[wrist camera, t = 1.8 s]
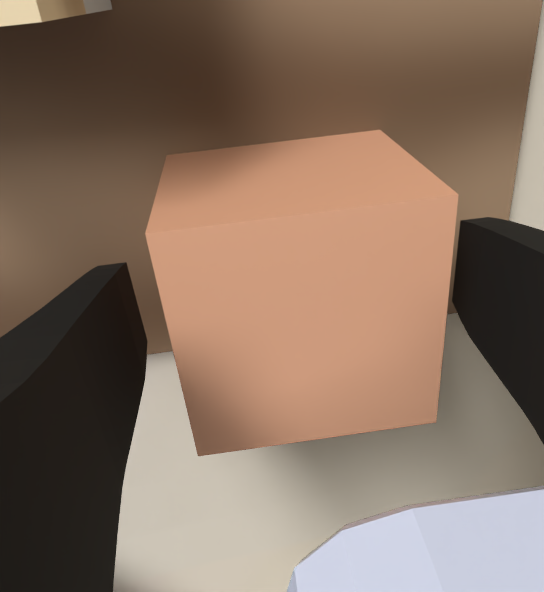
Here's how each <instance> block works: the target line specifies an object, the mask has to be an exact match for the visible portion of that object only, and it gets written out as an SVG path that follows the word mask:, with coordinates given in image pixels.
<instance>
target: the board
mask: <svg viewBox="0 0 544 592" xmlns="http://www.w3.org/2000/svg"><path fill="white" fill-rule="evenodd" d="M110 1H111V5H112V9H111V10H106V11H100V12H95V13H89V14H84V15H78V16H73V17H67V18H62V19H56V20H51V21H45V22H38V23H29V24H20V25H11V26H2V27H0V337H2V336H3V335H5V334H6V333H8V332H9V331H10V330H12V329H13V328H15V327H16V326H17V325H19V324H20V323H22V322H23V321H24V320H26V319H27V318H28V317H30V316H31V315H33V314H34V313H35V312H37V311H38V310H40V309H41V308H42V307H43V306H45V305H46V304H47V303H48V302H50V301H51V300H52V299H54V298H55V297H56V296H57V295H59V294H60V293H61V292H62V291H64V290H65V289H66V288H68V287H69V286H70V285H71V284H73V283H74V282H75V281H76V280H78V279H79V278H80V277H82V276H83V275H84V274H86V273H87V272H88V271H90V270H91V269H93V268H95V267H96V266H100V265H108V264H116V263H124V262H127V266H128V270H129V274H130V277H131V281H132V285H133V289H134V292H135V296H136V300H137V304H138V307H139V311H140V315H141V319H142V322H143V326H144V330H145V333H146V337H147V354H154V353H161V352H169V351H173V349H172V345H171V340H170V336H169V332H168V328H167V324H166V319H165V315H164V311H163V307H162V303H161V298H160V294H159V290H158V286H157V282H156V277H155V273H154V269H153V265H152V261H151V256H150V252H149V248H148V244H147V240H146V235H145V232H146V229H147V225H148V221H149V218H150V214H151V211H152V207H153V203H154V200H155V196H156V192H157V189H158V185H159V182H160V178H161V174H162V171H163V167H164V163H165V160H166V156H167V155H172V154H180V153H189V152H197V151H206V150H214V149H222V148H231V147H239V146H248V145H256V144H264V143H273V142H281V141H289V140H298V139H306V138H315V137H323V136H331V135H340V134H348V133H357V132H365V131H373V130H381V131H382V132H383V133H385V134H386V135H387V136H388V137H389V138H391V139H392V140H393V141H394V142H396V143H397V144H398V145H399V146H400V147H402V148H403V149H404V150H405V151H406V152H408V153H409V154H410V155H411V156H413V157H414V158H415V159H416V160H417V161H419V162H420V163H421V164H422V165H423V166H425V167H426V168H427V169H428V170H430V171H431V172H432V173H433V174H434V175H436V176H437V177H438V178H439V179H440V180H442V181H443V182H444V183H445V184H446V185H448V186H449V187H450V188H451V189H453V190H454V191H455V192H456V193H457V194H459V196H458V206H457V216H456V226H455V236H454V247H453V257H452V267H451V277H450V287H449V297H448V307H447V314H452V313H457V311H456V309H455V306H454V304H453V302H452V296H453V287H454V277H455V267H456V258H457V248H458V239H459V229H460V220H468V219H476V218H484V217H492V218H499V219H503V220H508V221H509V214H510V208H511V201H512V195H513V188H514V182H515V175H516V169H517V163H518V156H519V150H520V143H521V137H522V130H523V124H524V117H525V111H526V104H527V98H528V92H529V85H530V79H531V72H532V66H533V59H534V53H535V46H536V40H537V33H538V27H539V21H540V14H541V8H542V1H543V0H110Z"/></svg>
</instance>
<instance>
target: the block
mask: <svg viewBox="0 0 544 592" xmlns="http://www.w3.org/2000/svg"><path fill="white" fill-rule="evenodd" d="M458 196H459V194H457V193H456V192H455V191H454V190H453V189H451V188H450V187H449V186H448V185H446V184H445V183H444V182H443V181H442V180H440V179H439V178H438V177H437V176H436V175H434V174H433V173H432V172H431V171H430V170H428V169H427V168H426V167H425V166H423V165H422V164H421V163H420V162H419V161H417V160H416V159H415V158H414V157H413V156H411V155H410V154H409V153H408V152H406V151H405V150H404V149H403V148H402V147H400V146H399V145H398V144H397V143H396V142H394V141H393V140H392V139H391V138H389V137H388V136H387V135H386V134H385V133H383V132H382V131H381V130H373V131H365V132H357V133H348V134H340V135H331V136H323V137H315V138H306V139H298V140H289V141H281V142H273V143H264V144H256V145H248V146H239V147H231V148H222V149H214V150H206V151H197V152H189V153H180V154H172V155H167V156H166V160H165V163H164V167H163V171H162V174H161V178H160V182H159V185H158V189H157V192H156V196H155V200H154V203H153V207H152V211H151V214H150V218H149V221H148V225H147V229H146V232H145V235H146V240H147V244H148V248H149V252H150V256H151V261H152V265H153V269H154V273H155V277H156V282H157V286H158V290H159V294H160V298H161V303H162V307H163V311H164V315H165V319H166V324H167V328H168V332H169V336H170V340H171V345H172V349H173V353H174V357H175V361H176V366H177V370H178V374H179V378H180V382H181V387H182V391H183V395H184V399H185V403H186V408H187V412H188V416H189V420H190V424H191V429H192V433H193V437H194V441H195V445H196V450H197V454H198V456H203V455H210V454H217V453H225V452H232V451H239V450H246V449H253V448H260V447H267V446H274V445H281V444H288V443H295V442H302V441H309V440H316V439H323V438H330V437H337V436H344V435H351V434H358V433H365V432H372V431H379V430H386V429H393V428H400V427H407V426H414V425H422V424H429V423H436V419H437V409H438V399H439V388H440V378H441V368H442V358H443V348H444V338H445V328H446V317H447V307H448V297H449V287H450V277H451V267H452V257H453V247H454V236H455V226H456V216H457V206H458Z"/></svg>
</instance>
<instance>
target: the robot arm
mask: <svg viewBox="0 0 544 592" xmlns="http://www.w3.org/2000/svg"><path fill="white" fill-rule="evenodd" d="M452 302H453V304H454V306H455V309H456V311H457V313H458V315H459V317H460V319H461V321H462V323H463V325H464V327H465V329H466V331H467V333H468V335H469V336H470V338H471V339H472V341H473V342H474V344H475V345H476V346H477V348H478V349H479V351H480V352H481V354H482V355H483V356H484V358H485V359H486V361H487V362H488V363H489V365H490V366H491V368H492V369H493V370H494V372H495V373H496V374H497V376H498V377H499V379H500V380H501V381H502V383H503V384H504V385H505V387H506V388H507V390H508V391H509V392H510V394H511V395H512V396H513V398H514V399H515V401H516V402H517V403H518V405H519V406H520V407H521V409H522V410H523V412H524V413H525V415H526V416H527V418H528V419H529V421H530V422H531V424H532V425H533V427H534V428H535V430H536V432H537V434H538V435H539V437H540V439H541V441H542V443H543V444H544V231H542V230H539V229H536V228H532V227H529V226H526V225H522V224H519V223H515V222H511V221H508V220H503V219H499V218H492V217H484V218H476V219H468V220H460V229H459V239H458V248H457V258H456V267H455V277H454V287H453V296H452ZM146 359H147V337H146V333H145V330H144V326H143V322H142V319H141V315H140V311H139V307H138V304H137V300H136V296H135V292H134V289H133V285H132V281H131V277H130V274H129V270H128V266H127V262H124V263H116V264H108V265H100V266H96V267H95V268H93V269H91V270H90V271H88V272H87V273H86V274H84V275H83V276H82V277H80V278H79V279H78V280H76V281H75V282H74V283H73V284H71V285H70V286H69V287H68V288H66V289H65V290H64V291H62V292H61V293H60V294H59V295H57V296H56V297H55V298H54V299H52V300H51V301H50V302H48V303H47V304H46V305H45V306H43V307H42V308H41V309H40V310H38V311H37V312H35V313H34V314H33V315H31V316H30V317H28V318H27V319H26V320H24V321H23V322H22V323H20V324H19V325H17V326H16V327H15V328H13V329H12V330H10V331H9V332H8V333H6V334H5V335H3V336H2V337H0V592H113V580H114V568H115V557H116V545H117V533H118V523H119V514H120V504H121V495H122V486H123V480H124V474H125V468H126V463H127V459H128V454H129V450H130V446H131V441H132V437H133V432H134V428H135V423H136V419H137V414H138V410H139V405H140V401H141V396H142V391H143V386H144V381H145V373H146ZM287 592H544V486H538V487H531V488H524V489H517V490H510V491H503V492H496V493H490V494H483V495H476V496H469V497H462V498H455V499H448V500H441V501H434V502H427V503H420V504H413V505H407V506H403V507H400V508H397V509H394V510H391V511H388V512H384V513H381V514H378V515H375V516H372V517H369V518H365V519H362V520H359V521H356V522H353V523H350V524H346V525H345V526H344V527H342V528H341V529H340V530H338V531H337V532H336V533H335V534H333V535H332V536H331V537H330V538H328V539H327V540H326V541H325V542H323V543H322V544H321V545H319V546H318V547H317V548H316V549H314V550H313V551H312V552H311V553H309V554H308V555H307V556H306V557H304V558H303V559H302V560H301V561H300V563H299V564H298V565H297V566H296V567H295V568H294V570H293V574H292V577H291V580H290V583H289V586H288V589H287Z"/></svg>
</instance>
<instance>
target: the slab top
mask: <svg viewBox="0 0 544 592" xmlns="http://www.w3.org/2000/svg"><path fill="white" fill-rule="evenodd" d="M84 14H86V10H85V6H84V2H83V0H0V27H2V26H11V25H20V24H29V23H38V22H45V21H51V20H56V19H62V18H67V17H73V16H78V15H84Z"/></svg>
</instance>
